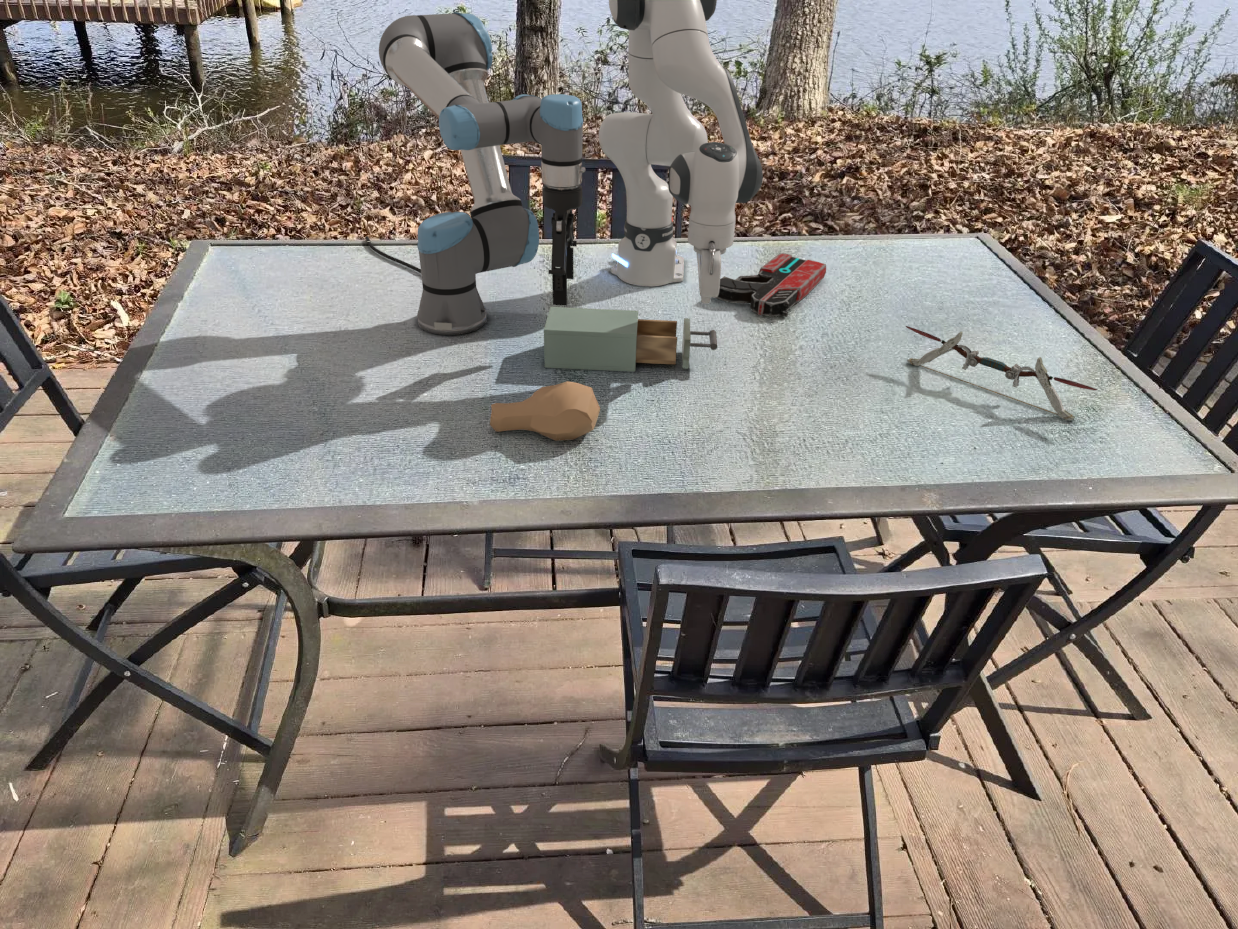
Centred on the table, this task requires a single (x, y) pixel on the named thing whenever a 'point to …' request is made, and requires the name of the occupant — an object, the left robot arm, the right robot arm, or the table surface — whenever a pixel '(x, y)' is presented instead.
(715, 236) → the right robot arm
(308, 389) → the table surface
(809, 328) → the table surface
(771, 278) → the gun
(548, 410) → the squash
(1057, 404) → the bow
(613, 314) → the grey box
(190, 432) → the table surface
